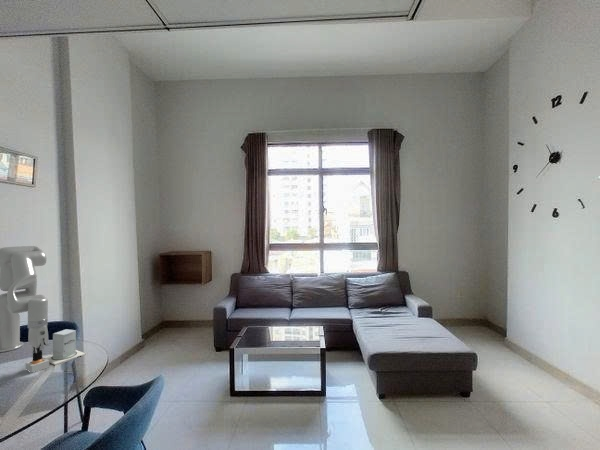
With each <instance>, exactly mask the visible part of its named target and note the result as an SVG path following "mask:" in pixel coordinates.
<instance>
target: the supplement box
mask: <svg viewBox="0 0 600 450" xmlns="http://www.w3.org/2000/svg"><path fill="white" fill-rule="evenodd" d="M76 337H77V330H76V329H75V330H74V329H67V328H66V329H63V330H60V331H57V332H54V333H52V354H53V357H57V358H64V357H67V356H69V355H71V354H74V353H76V350H77V346H76V345H77V342H76V341H77V338H76Z"/></svg>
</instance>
